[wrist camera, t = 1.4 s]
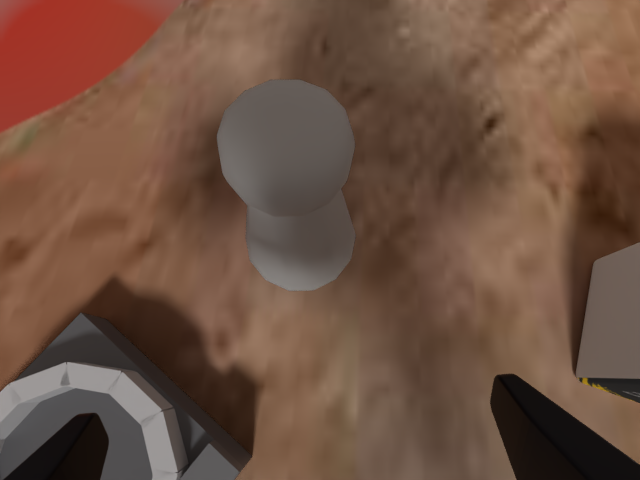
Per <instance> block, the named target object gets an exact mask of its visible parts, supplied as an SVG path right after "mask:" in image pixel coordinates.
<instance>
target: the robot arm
mask: <svg viewBox="0 0 640 480" xmlns="http://www.w3.org/2000/svg"><path fill="white" fill-rule="evenodd" d="M490 404H491V409H492V413H493V415H494V418H495V421H496V424H497V427H498V429H499V432H500V435H501V438H502V441H503V444H504V446H505V449H506V452H507V455H508V458H509V460H510V463H511V466H512V469H513V471H514V474H515V476H516V479H517V480H640V465H639V464H638V463H637V462H635V461H634V460H632V459H631V458H630V457H628V456H627V455H626V454H624V453H623V452H621V451H620V450H619V449H617V448H616V447H615V446H613V445H612V444H610V443H609V442H608V441H606V440H605V439H604V438H602V437H601V436H599V435H598V434H597V433H595V432H594V431H593V430H591V429H590V428H588V427H587V426H586V425H584V424H583V423H582V422H580V421H579V420H577V419H576V418H575V417H573V416H572V415H571V414H569V413H568V412H566V411H565V410H564V409H562V408H561V407H560V406H558V405H557V404H555V403H554V402H553V401H551V400H550V399H549V398H547V397H546V396H544V395H543V394H542V393H540V392H539V391H538V390H536V389H535V388H533V387H532V386H531V385H529V384H528V383H527V382H525V381H524V380H522V379H521V378H520V377H518V376H517V375H515V374H501V375H496V376H495V378H494V382H493V388H492V393H491V399H490ZM108 447H109V437H108V434H107V432H106V430H105V427H104V425H103V423H102V421H101V419H100V416H99V415H98V414H97V413H94V412H93V413H83V414H78V415H76V416H74V417H73V418H72V419H71V420H70V421H68V422H67V423H66V424H65V425H64V426H63V427H62V428H61V429H59V430H58V431H57V432H56V433H55V434H54V435H53V436H51V437H50V438H49V439H48V440H47V441H46V442H45V443H44V444H42V445H41V446H40V447H39V448H38V449H37V450H36V451H35V452H33V453H32V454H31V455H30V456H29V457H28V458H27V459H26V460H24V461H23V462H22V463H21V464H20V465H19V466H18V467H17V468H15V469H14V470H13V471H12V472H11V473H10V474H9V475H8V476H6V477H5V478H4V479H3V480H100V479H101V475H102V471H103V467H104V463H105V459H106V455H107V451H108Z"/></svg>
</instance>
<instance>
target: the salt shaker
mask: <svg viewBox="0 0 640 480" xmlns="http://www.w3.org/2000/svg"><path fill="white" fill-rule="evenodd" d="M217 144H218V150H219V156H220V162H221V167H222V173H223V176H224V177H225V179H226V180H227V182H228V184H229V185H230V186H231V187H232V188H233V189H234V191H235V192H236V193H237V194H238V195H239V196H240V198H241V199H242V200H243V201H244V202H245V204H247V219H246V242H247V248H248V253H249V258H250V261H251V263H252V264H253V265H254V266H255V268H256V269H257V270H258V271H259V273H260V274H261V275H262V276H263V277H264V279H265V280H267V281H269V282H271V283H273V284H275V285H277V286H280V287H282V288H284V289H286V290H288V291H311V290H315V289H317V288H319V287H321V286H323V285H325V284H327V283H329V282H331V281H333V280H335V279H336V278H337V277H338V276H339V274H340V273H341V272H342V270H343V269H344V268H345V267H346V265H347V264H348V263H349V261H350V260H351V257H352V252H353V248H354V243H355V238H356V234H355V231H354V228H353V225H352V221H351V218H350V215H349V212H348V209H347V205H346V202H345V199H344V196H343V192H342V189H341V188H342V187H343V186H344V184H345V183H346V182H347V179H348V176H349V172H350V168H351V163H352V159H353V154H354V150H355V140H354V135H353V131H352V128H351V125H350V122H349V119H348V116H347V113H346V110H345V108H344V107H343V106H342V105H341V104H340V103H339V102H338V101H337V100H336V99H335V98H334V97H333V96H332V95H331V94H330V93H329V92H328V91H327V90H326V89H324V88H321V87H318V86H316V85H313V84H310V83H308V82H305V81H302V80H269V81H267V82H264V83H262V84H260V85H257V86H255V87H253V88H250V89H248V90H245V91H244V92H243V93H242V94H241V95H240V96H239V97H238V98H237V99H236V100H235V101H234V102H233V103H232V104H231V105H230V106H229V107H228V108H227V109H226V110H225V111H224V114H223V117H222V121H221V124H220V127H219V130H218V133H217Z"/></svg>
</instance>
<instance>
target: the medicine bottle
mask: <svg viewBox="0 0 640 480" xmlns="http://www.w3.org/2000/svg"><path fill="white" fill-rule="evenodd" d="M576 378H577V380H578V381H580V382H582V383H584V384H587V385H589V386H592V387H595V388H598V389H601V390H604V391H607V392H609V393H612V394H615V395H618V396H621V397H624V398H627V399H629V400H632V401H635V402H638V403H640V242H639V243H636V244H634V245H631V246H629V247H626V248H624V249H622V250H619V251H617V252H614V253H612V254H609V255H607V256H604V257H602V258H600V259H597V260H596V261H595V262H594V263H593V268H592V274H591V281H590V287H589V293H588V299H587V306H586V312H585V318H584V325H583V331H582V337H581V343H580V350H579V356H578V362H577V368H576Z"/></svg>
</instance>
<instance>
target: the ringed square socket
mask: <svg viewBox="0 0 640 480" xmlns="http://www.w3.org/2000/svg"><path fill="white" fill-rule="evenodd" d="M93 412H94V413H97V414H98V415H99V416H100V419H101V421H102V423H103V425H104V427H105V430H106V432H107V434H108V437H109V447H108V451H107V455H106V459H105V463H104V467H103V471H102V475H101V479H100V480H235V478H236V477H237V476H238V474H239V473H240V472H241V471H242V469H243V468H244V467H245V465H246V464H247V463H248V462H249V460H250V459H251V458H252V455H251V454H249V453H248V452H247V451H246V450H245V449H244V448H243V447H242V446H241V445H240V444H239V443H238V442H237V441H236V440H235V439H233V438H232V437H231V436H230V435H229V434H228V433H227V432H226V431H225V430H224V429H223V428H222V427H221V426H220V425H219V424H217V423H216V422H215V421H214V420H213V419H212V418H211V417H210V416H209V415H208V414H207V413H206V412H205V411H204V410H203V409H201V408H200V407H199V406H198V405H197V404H196V403H195V402H194V401H193V400H192V399H191V398H190V397H189V396H188V395H187V394H185V393H184V392H183V391H182V390H181V389H180V388H179V387H178V386H177V385H176V384H175V383H174V382H173V381H172V380H171V379H169V378H168V377H167V376H166V375H165V374H164V373H163V372H162V371H161V370H160V369H159V368H158V367H157V366H156V365H155V364H153V363H152V362H151V361H150V360H149V359H148V358H147V357H146V356H145V355H144V354H143V353H142V352H141V351H140V350H139V349H137V348H136V347H135V346H134V345H133V344H132V343H131V342H130V341H129V340H128V339H127V338H126V337H125V336H124V335H123V334H121V333H120V332H119V331H118V330H117V329H116V328H115V327H114V326H113V325H112V324H111V323H110V322H109V321H108V320H107V319H105V318H101V317H97V316H93V315H89V314H85V313H80V314H79V315H78V316H77V317H76V318H75V319H74V320H73V321H72V322H71V323H70V324H69V325H68V326H67V327H66V328H65V329H64V331H63V332H62V333H61V334H60V335H59V336H58V337H57V338H56V339H55V340H54V341H53V342H52V343H51V344H50V345H49V346H48V347H47V348H46V349H45V350H44V351H43V352H42V353H41V354H40V355H39V356H38V357H37V358H36V359H35V360H34V361H33V362H32V363H31V364H30V365H29V366H28V367H27V368H26V369H25V370H24V371H23V372H22V373H21V375H20V376H19V377H18V378H17V379H16V380H15V381H14V382H12V383H10V384H8V385H7V386H6V387H5V388H4V389H3V390H2V391H1V392H0V480H3V479H4V478H5V477H6V476H8V475H9V474H10V473H11V472H12V471H13V470H14V469H15V468H17V467H18V466H19V465H20V464H21V463H22V462H23V461H24V460H26V459H27V458H28V457H29V456H30V455H31V454H32V453H33V452H35V451H36V450H37V449H38V448H39V447H40V446H41V445H42V444H44V443H45V442H46V441H47V440H48V439H49V438H50V437H51V436H53V435H54V434H55V433H56V432H57V431H58V430H59V429H61V428H62V427H63V426H64V425H65V424H66V423H67V422H68V421H70V420H71V419H72V418H73V417H74V416H76V415H78V414H83V413H93Z"/></svg>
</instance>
